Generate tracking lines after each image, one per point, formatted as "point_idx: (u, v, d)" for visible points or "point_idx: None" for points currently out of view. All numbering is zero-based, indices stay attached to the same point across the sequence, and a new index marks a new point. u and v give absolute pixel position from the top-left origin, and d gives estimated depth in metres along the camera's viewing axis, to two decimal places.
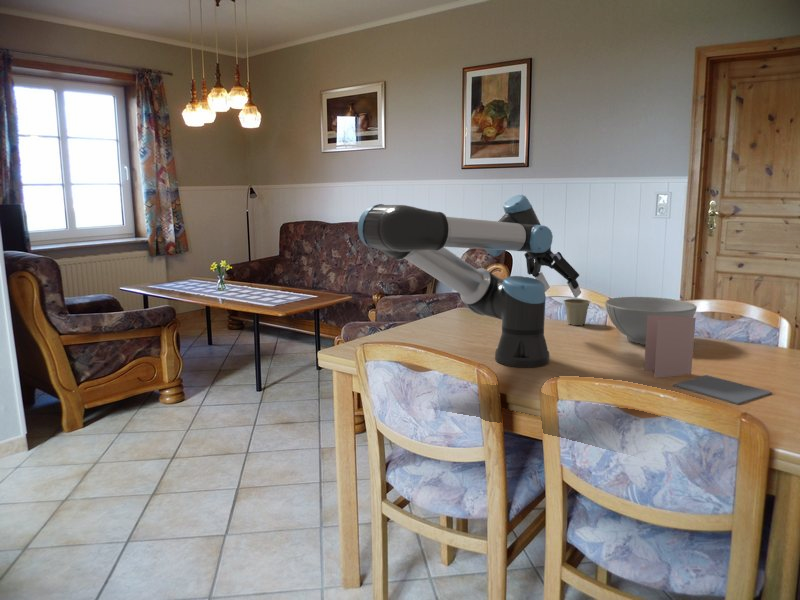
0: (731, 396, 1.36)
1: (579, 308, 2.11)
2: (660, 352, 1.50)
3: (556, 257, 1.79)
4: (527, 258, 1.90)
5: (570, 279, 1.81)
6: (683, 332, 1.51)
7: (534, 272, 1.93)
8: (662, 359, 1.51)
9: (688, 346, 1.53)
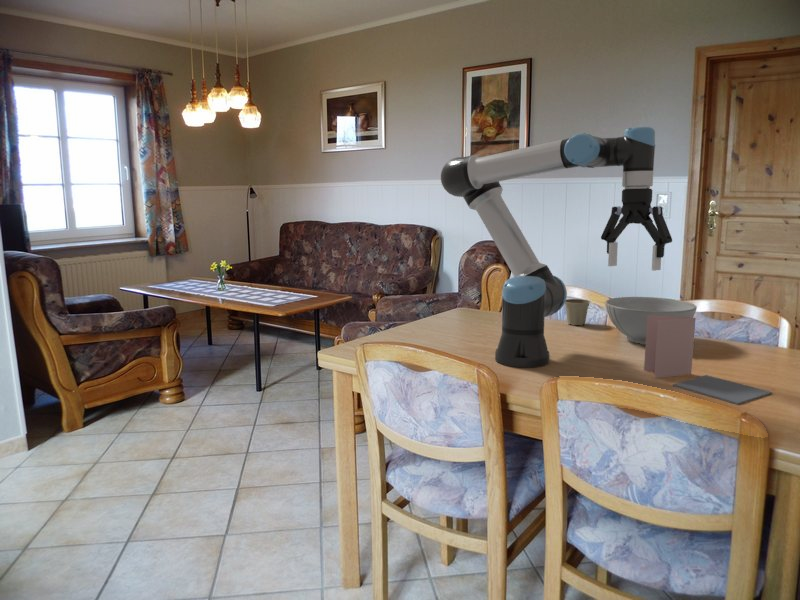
0: (731, 396, 1.36)
1: (579, 308, 2.11)
2: (660, 352, 1.50)
3: (657, 208, 1.51)
4: (613, 213, 1.62)
5: (660, 241, 1.52)
6: (683, 332, 1.51)
7: (611, 235, 1.64)
8: (662, 359, 1.51)
9: (688, 346, 1.53)
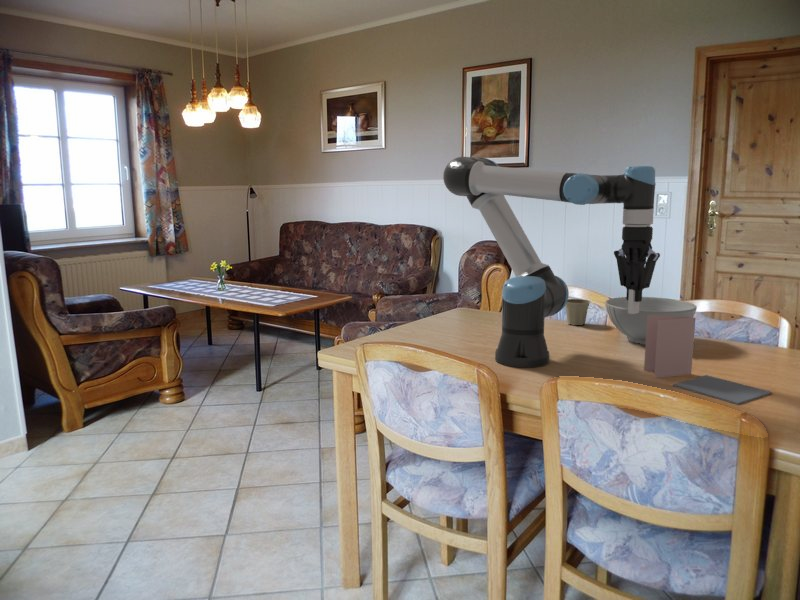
0: (731, 396, 1.36)
1: (579, 308, 2.11)
2: (660, 352, 1.50)
3: (654, 256, 1.53)
4: (617, 256, 1.62)
5: (638, 288, 1.58)
6: (683, 332, 1.51)
7: (628, 280, 1.60)
8: (662, 359, 1.51)
9: (688, 346, 1.53)
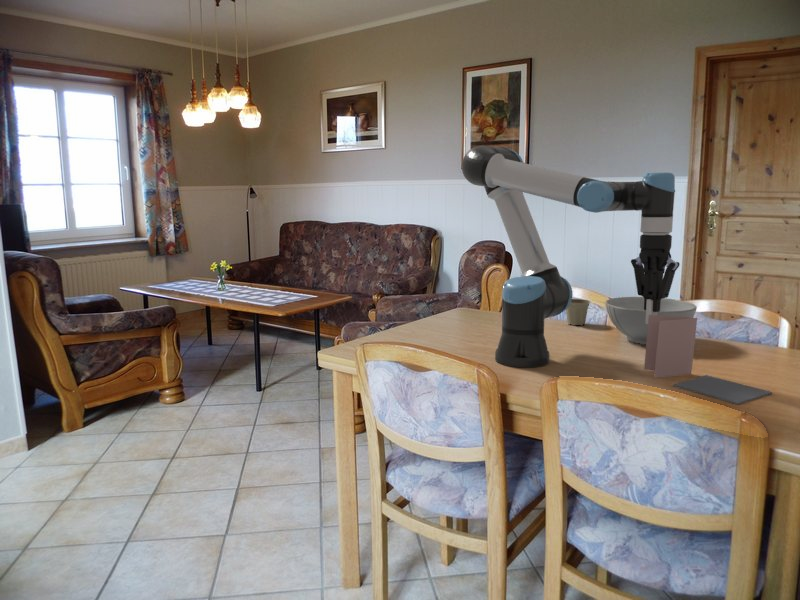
0: (731, 396, 1.36)
1: (579, 308, 2.11)
2: (661, 352, 1.50)
3: (674, 266, 1.48)
4: (635, 265, 1.58)
5: (656, 298, 1.53)
6: (684, 332, 1.51)
7: (645, 289, 1.56)
8: (662, 359, 1.51)
9: (689, 346, 1.52)
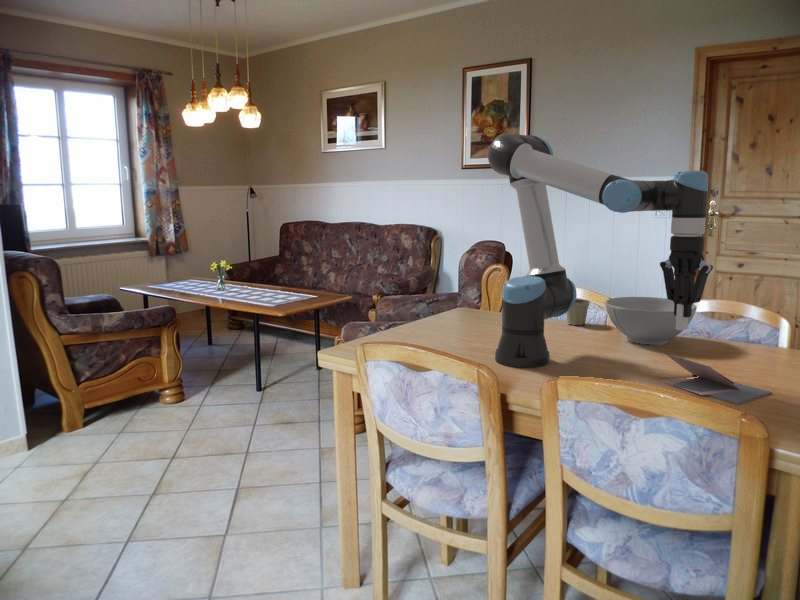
0: (731, 396, 1.36)
1: (579, 308, 2.11)
2: None
3: (707, 269, 1.41)
4: (664, 268, 1.50)
5: (687, 302, 1.46)
6: None
7: (676, 293, 1.48)
8: None
9: None
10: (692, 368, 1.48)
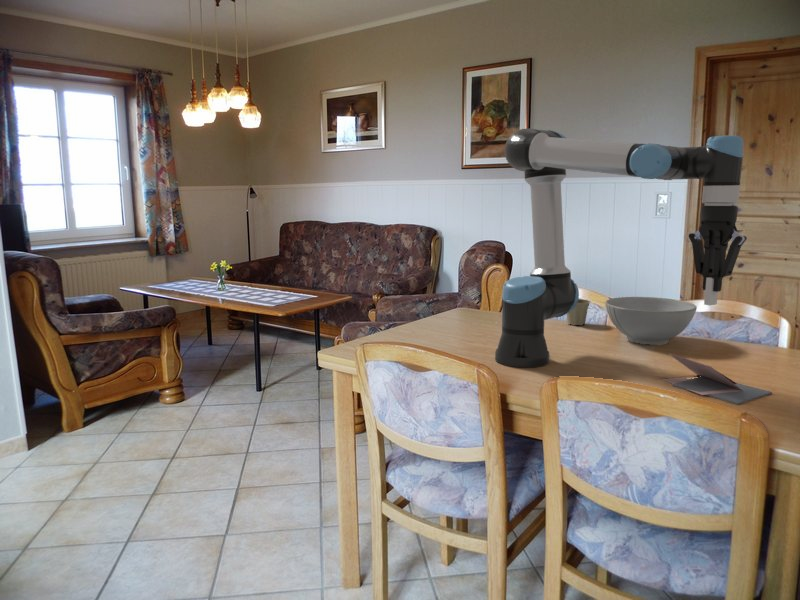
0: (731, 396, 1.36)
1: (579, 308, 2.11)
2: None
3: (740, 240, 1.33)
4: (693, 240, 1.43)
5: (718, 276, 1.39)
6: None
7: (705, 266, 1.41)
8: None
9: None
10: (695, 368, 1.48)
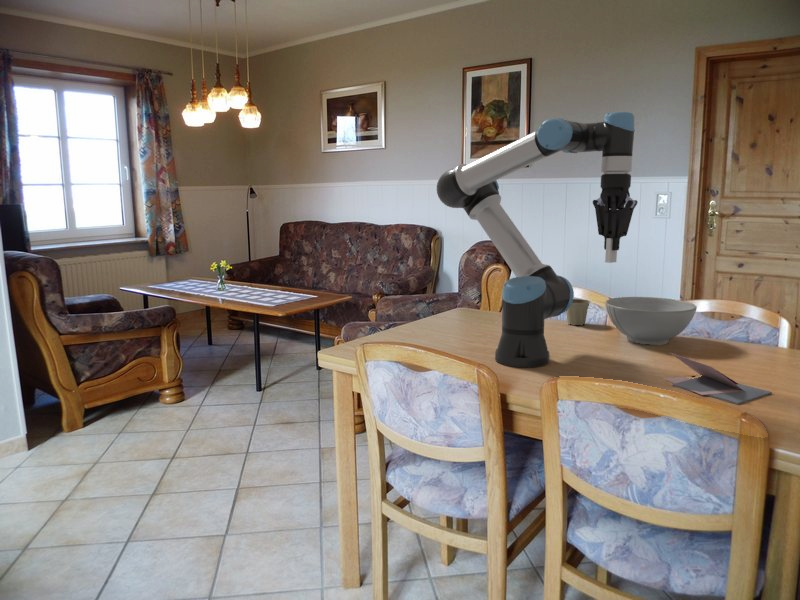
0: (731, 396, 1.36)
1: (579, 308, 2.11)
2: None
3: (631, 203, 1.52)
4: (596, 205, 1.62)
5: (615, 236, 1.58)
6: None
7: (605, 228, 1.60)
8: None
9: None
10: (697, 368, 1.48)
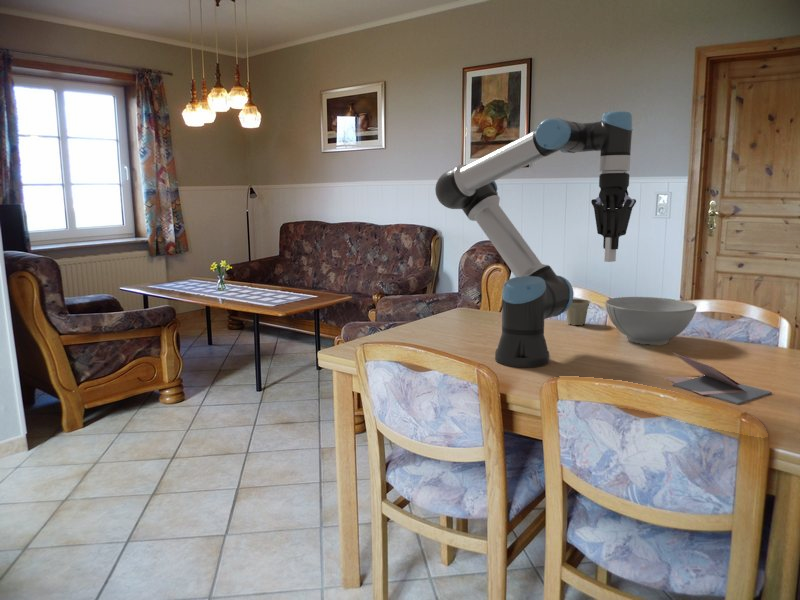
0: (731, 396, 1.36)
1: (579, 308, 2.11)
2: None
3: (630, 202, 1.53)
4: (595, 205, 1.62)
5: (614, 235, 1.58)
6: None
7: (604, 227, 1.60)
8: None
9: None
10: (700, 368, 1.47)
